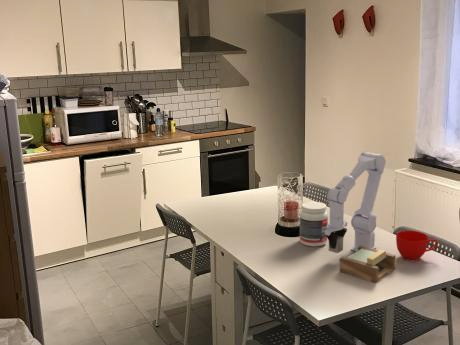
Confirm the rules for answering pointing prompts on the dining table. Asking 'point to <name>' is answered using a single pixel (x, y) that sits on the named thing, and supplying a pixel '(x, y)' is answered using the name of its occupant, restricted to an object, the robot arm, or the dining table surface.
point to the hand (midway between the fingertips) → (335, 246)
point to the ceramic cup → (413, 244)
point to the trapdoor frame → (367, 267)
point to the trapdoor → (368, 256)
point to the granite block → (337, 245)
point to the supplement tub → (313, 224)
